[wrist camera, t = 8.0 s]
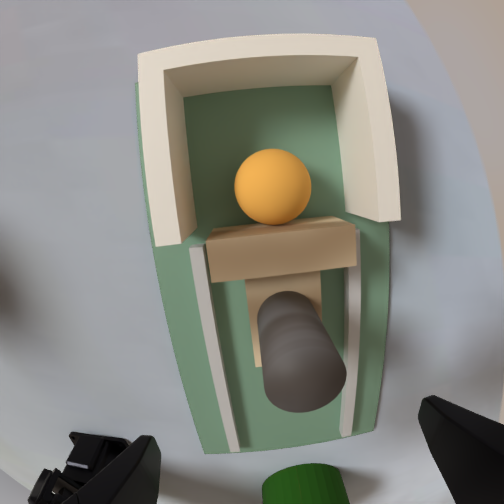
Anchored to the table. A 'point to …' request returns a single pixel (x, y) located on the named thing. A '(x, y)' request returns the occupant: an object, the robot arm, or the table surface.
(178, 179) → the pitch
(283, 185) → the ball
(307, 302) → the kicker
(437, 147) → the table surface
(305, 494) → the candle
